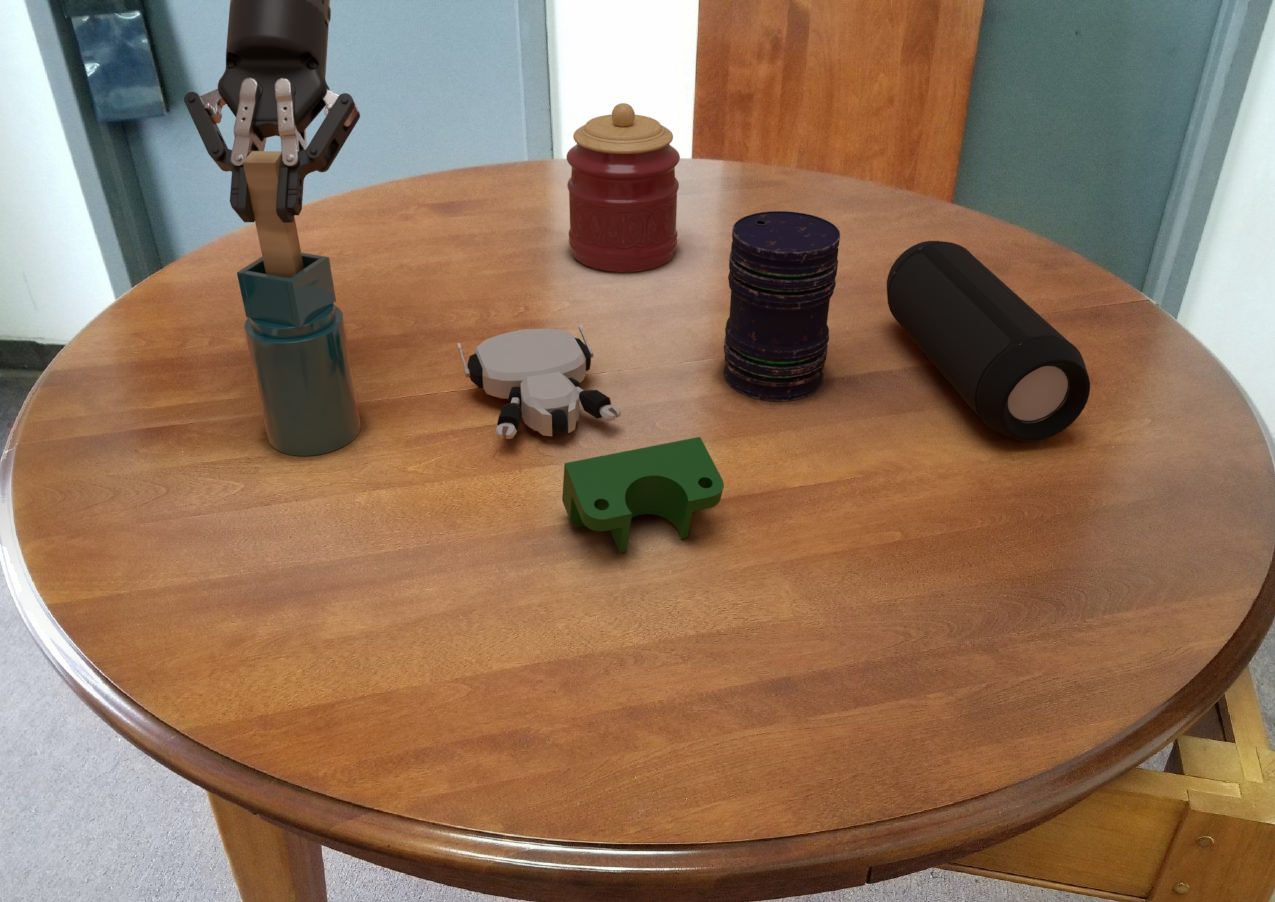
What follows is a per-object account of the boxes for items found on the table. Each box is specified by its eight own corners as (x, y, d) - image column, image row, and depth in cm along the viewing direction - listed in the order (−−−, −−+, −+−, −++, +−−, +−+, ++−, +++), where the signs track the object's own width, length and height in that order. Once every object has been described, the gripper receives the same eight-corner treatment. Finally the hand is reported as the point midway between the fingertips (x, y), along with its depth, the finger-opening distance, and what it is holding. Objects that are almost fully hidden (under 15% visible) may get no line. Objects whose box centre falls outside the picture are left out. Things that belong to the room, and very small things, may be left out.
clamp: (605, 589, 85) (566, 533, 77) (582, 532, 88) (543, 473, 81) (742, 523, 84) (716, 460, 77) (713, 468, 88) (686, 404, 81)
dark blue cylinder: (844, 375, 105) (863, 230, 96) (784, 413, 99) (799, 263, 90) (763, 341, 110) (774, 202, 102) (701, 376, 104) (708, 231, 96)
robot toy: (628, 442, 96) (579, 354, 107) (630, 400, 93) (579, 315, 104) (494, 467, 92) (457, 374, 103) (491, 424, 90) (454, 333, 101)
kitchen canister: (612, 223, 137) (611, 81, 127) (697, 247, 130) (704, 100, 120) (546, 256, 128) (540, 106, 118) (635, 284, 121) (636, 128, 112)
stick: (277, 280, 89) (251, 150, 83) (306, 280, 89) (282, 150, 83) (269, 293, 87) (242, 161, 81) (299, 293, 87) (274, 162, 81)
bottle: (249, 445, 93) (210, 276, 84) (302, 401, 100) (271, 239, 91) (328, 463, 91) (296, 292, 82) (377, 417, 97) (353, 252, 89)
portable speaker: (1083, 445, 95) (1113, 345, 89) (979, 456, 93) (1002, 355, 87) (958, 317, 115) (976, 229, 110) (871, 324, 114) (885, 235, 108)
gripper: (172, -15, 82) (153, 197, 78) (355, -14, 82) (343, 198, 79) (210, 40, 89) (193, 237, 86) (378, 42, 89) (367, 238, 86)
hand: (265, 217), depth 82 cm, fingers closed on stick, 2 cm apart
